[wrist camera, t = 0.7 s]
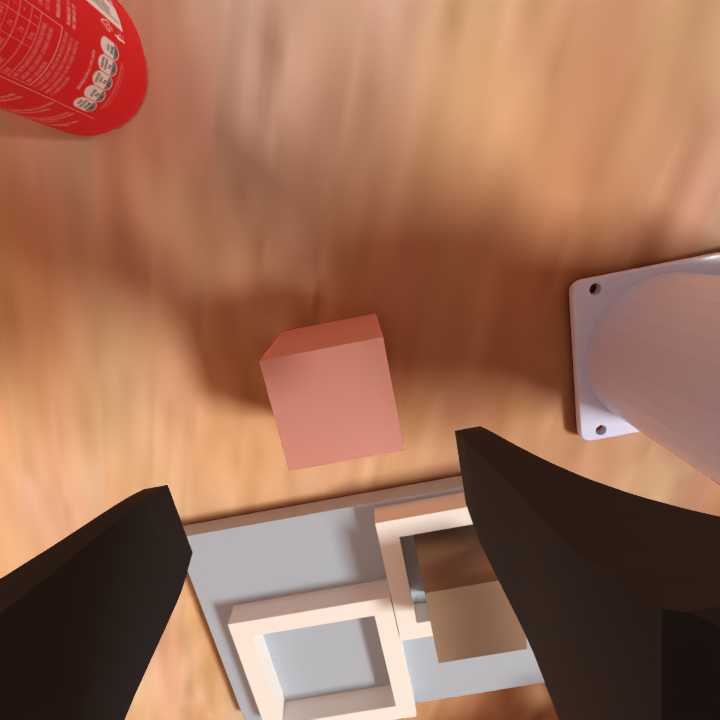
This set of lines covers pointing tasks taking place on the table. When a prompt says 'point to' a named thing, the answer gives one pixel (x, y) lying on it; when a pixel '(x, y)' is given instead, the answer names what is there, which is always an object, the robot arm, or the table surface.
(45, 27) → the beverage can
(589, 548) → the robot arm
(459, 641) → the walnut cube
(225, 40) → the table surface
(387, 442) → the brick-red block
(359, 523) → the board
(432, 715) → the table surface
